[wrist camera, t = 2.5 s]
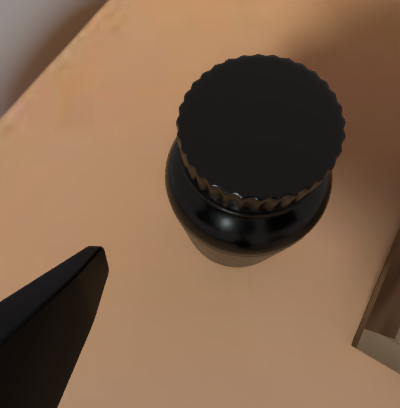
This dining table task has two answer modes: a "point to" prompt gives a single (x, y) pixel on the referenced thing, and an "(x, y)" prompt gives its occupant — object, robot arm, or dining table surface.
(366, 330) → the walnut well
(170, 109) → the dining table surface
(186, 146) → the supplement bottle
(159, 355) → the dining table surface
